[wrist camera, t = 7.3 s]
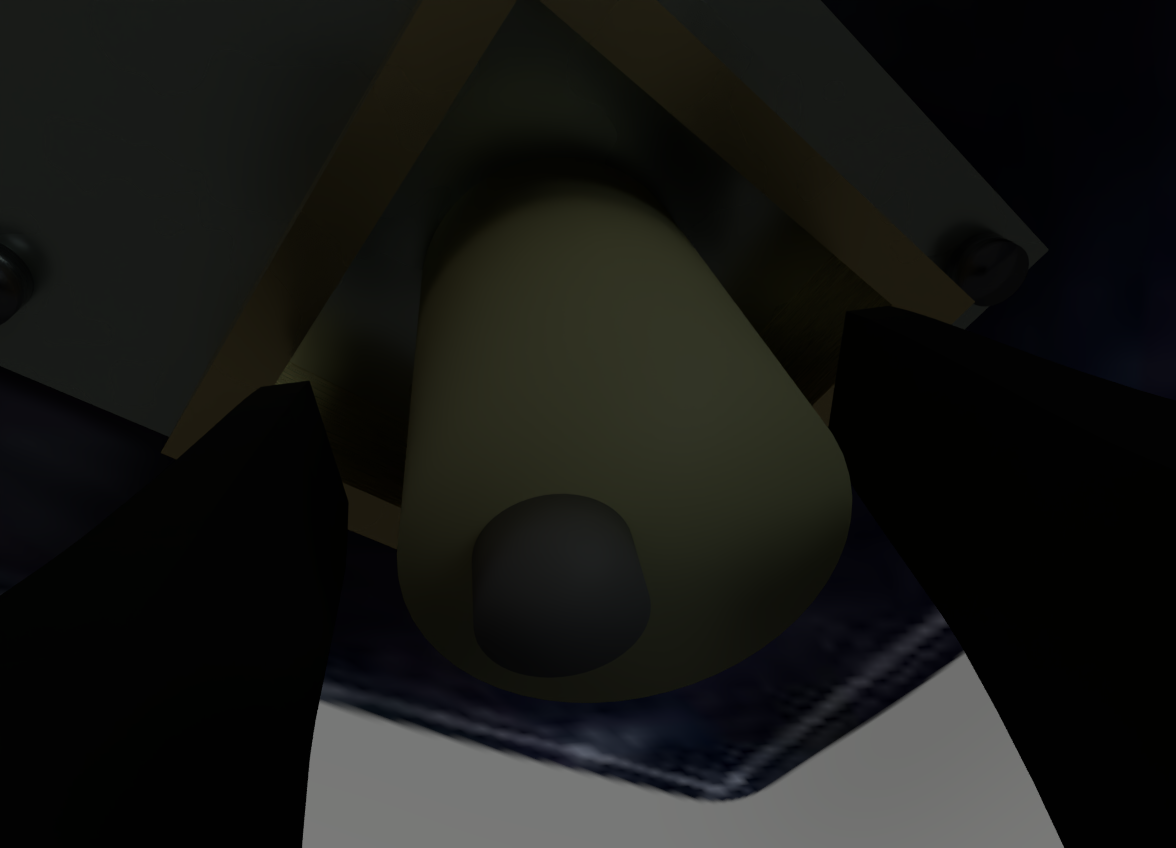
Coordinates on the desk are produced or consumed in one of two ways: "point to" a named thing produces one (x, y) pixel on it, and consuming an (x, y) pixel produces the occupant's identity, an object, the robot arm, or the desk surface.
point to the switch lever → (601, 449)
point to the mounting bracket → (439, 189)
